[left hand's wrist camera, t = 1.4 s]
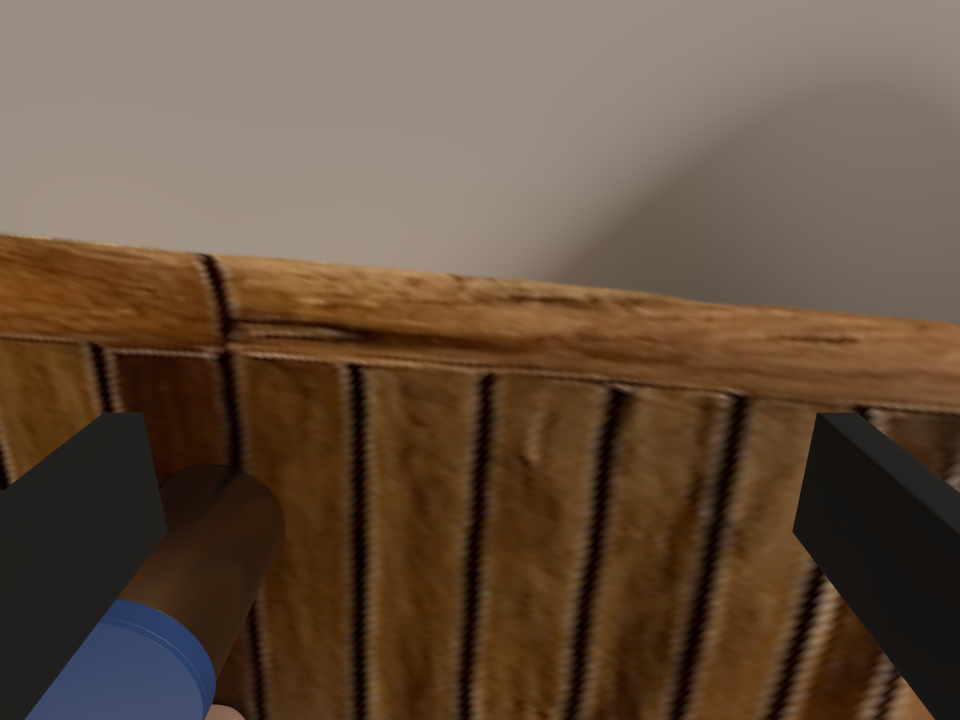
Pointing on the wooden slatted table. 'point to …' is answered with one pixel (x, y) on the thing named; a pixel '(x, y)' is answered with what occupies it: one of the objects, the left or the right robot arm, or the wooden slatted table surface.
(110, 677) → the lid
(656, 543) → the wooden slatted table surface
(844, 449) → the left robot arm
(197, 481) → the jar
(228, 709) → the anatomical model
